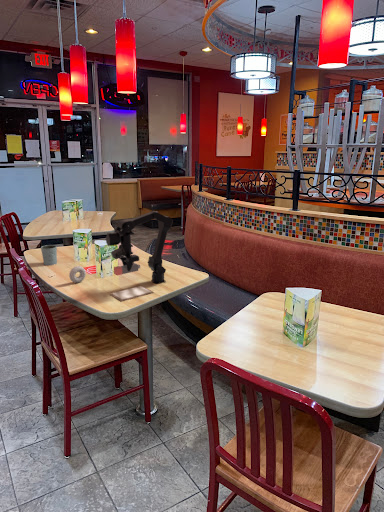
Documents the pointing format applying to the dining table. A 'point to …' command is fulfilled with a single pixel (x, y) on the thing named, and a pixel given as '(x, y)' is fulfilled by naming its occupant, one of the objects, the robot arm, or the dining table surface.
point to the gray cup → (49, 254)
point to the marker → (125, 269)
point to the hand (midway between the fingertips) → (127, 270)
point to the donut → (81, 276)
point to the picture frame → (131, 293)
